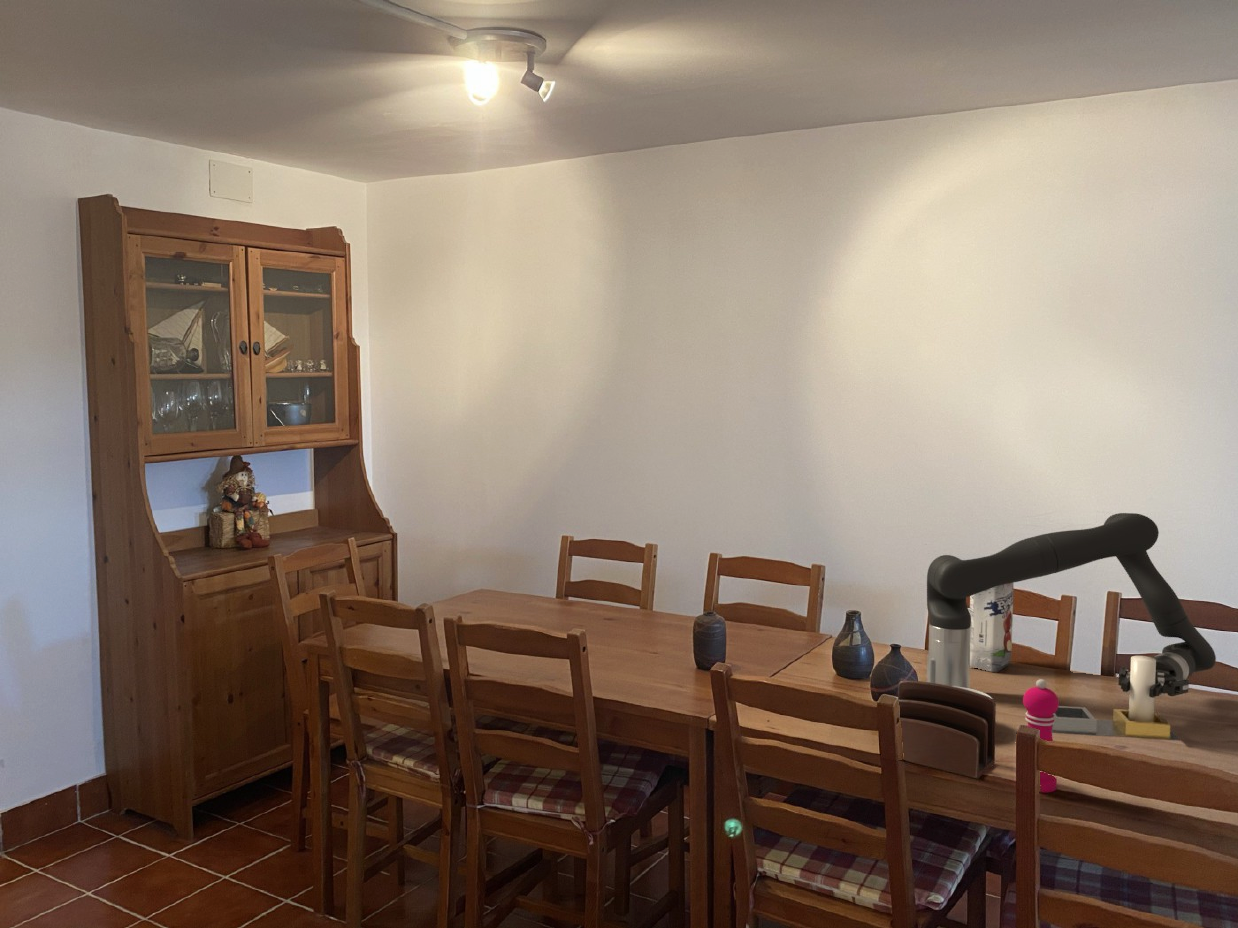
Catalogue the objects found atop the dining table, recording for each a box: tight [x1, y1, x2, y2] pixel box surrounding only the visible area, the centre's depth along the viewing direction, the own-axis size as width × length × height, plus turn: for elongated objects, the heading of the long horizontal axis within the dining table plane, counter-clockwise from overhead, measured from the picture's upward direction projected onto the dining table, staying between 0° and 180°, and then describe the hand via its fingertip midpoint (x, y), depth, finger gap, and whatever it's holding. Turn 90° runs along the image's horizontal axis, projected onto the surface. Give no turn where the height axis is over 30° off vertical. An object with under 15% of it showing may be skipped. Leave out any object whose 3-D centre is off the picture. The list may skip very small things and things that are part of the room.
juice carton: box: [969, 583, 1014, 673], centre depth 253 cm, size 9×10×27 cm
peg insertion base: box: [1052, 705, 1181, 741], centre depth 207 cm, size 26×10×4 cm, turn 79°
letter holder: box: [897, 679, 997, 780], centre depth 192 cm, size 10×20×14 cm, turn 51°
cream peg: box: [1128, 655, 1156, 722], centre depth 205 cm, size 5×5×14 cm
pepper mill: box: [1022, 678, 1060, 793], centre depth 179 cm, size 7×7×20 cm
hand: (1138, 689), depth 203 cm, fingers closed on cream peg, 4 cm apart
